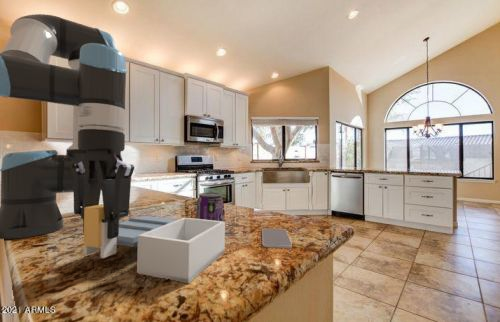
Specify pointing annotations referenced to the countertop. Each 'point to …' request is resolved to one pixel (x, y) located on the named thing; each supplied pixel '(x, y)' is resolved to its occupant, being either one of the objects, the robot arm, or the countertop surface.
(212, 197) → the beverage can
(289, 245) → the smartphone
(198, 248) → the tub
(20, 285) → the countertop surface
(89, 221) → the lid
